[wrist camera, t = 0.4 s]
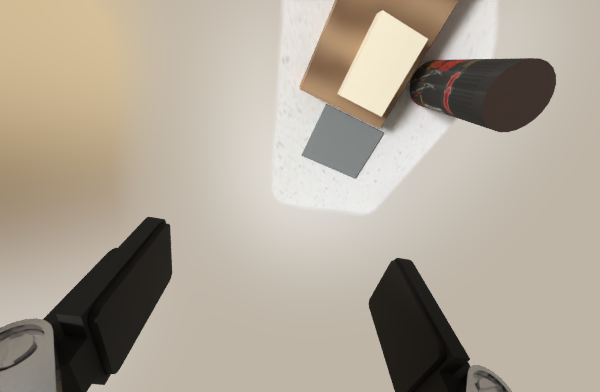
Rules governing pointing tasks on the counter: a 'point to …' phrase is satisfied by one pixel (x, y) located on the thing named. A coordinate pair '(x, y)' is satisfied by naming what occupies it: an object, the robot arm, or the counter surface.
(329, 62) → the wood grain slab
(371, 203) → the counter surface
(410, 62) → the cream foam block
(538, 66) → the deodorant
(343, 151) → the mat
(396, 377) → the robot arm
